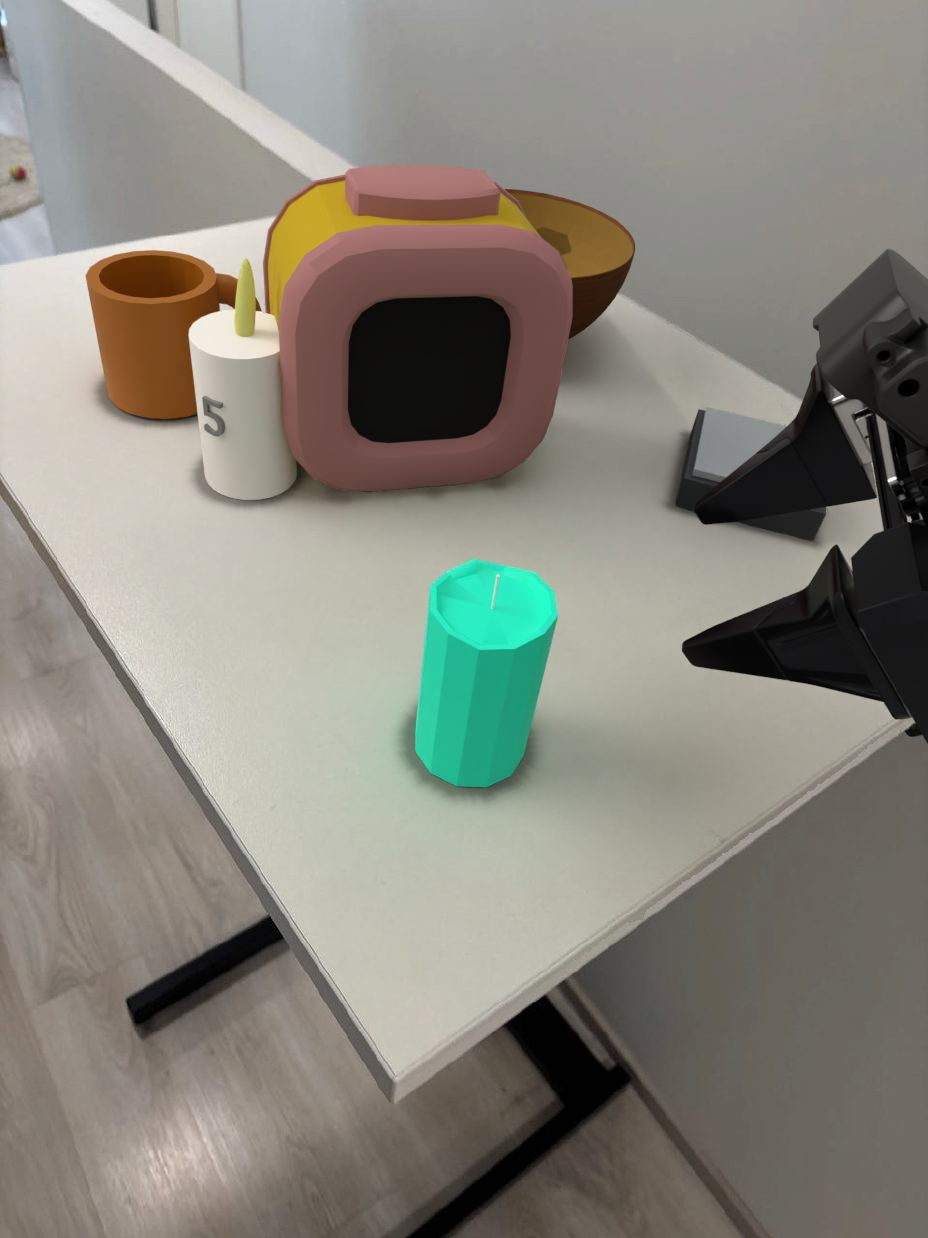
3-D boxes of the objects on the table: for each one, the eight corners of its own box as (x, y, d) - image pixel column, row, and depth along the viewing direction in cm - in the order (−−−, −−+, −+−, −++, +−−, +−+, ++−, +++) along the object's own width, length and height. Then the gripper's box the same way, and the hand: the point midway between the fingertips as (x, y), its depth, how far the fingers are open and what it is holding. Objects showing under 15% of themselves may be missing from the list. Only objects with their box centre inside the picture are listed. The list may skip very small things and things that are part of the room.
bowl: (499, 417, 72) (518, 296, 65) (372, 322, 81) (376, 207, 74) (649, 363, 81) (680, 251, 74) (519, 283, 90) (535, 176, 83)
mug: (272, 418, 69) (267, 304, 63) (104, 423, 66) (80, 305, 60) (264, 357, 75) (258, 248, 69) (109, 360, 72) (89, 247, 66)
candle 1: (183, 479, 62) (153, 264, 52) (243, 436, 67) (227, 230, 56) (258, 513, 61) (243, 298, 50) (314, 467, 65) (312, 259, 55)
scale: (815, 466, 72) (830, 432, 70) (813, 541, 65) (830, 506, 63) (689, 435, 73) (700, 401, 71) (674, 505, 66) (686, 470, 64)
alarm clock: (288, 509, 61) (277, 216, 48) (268, 419, 69) (253, 143, 55) (546, 487, 66) (601, 214, 53) (501, 405, 74) (540, 147, 60)
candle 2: (547, 744, 49) (591, 580, 41) (472, 809, 46) (504, 644, 38) (466, 682, 52) (492, 516, 44) (390, 738, 49) (402, 570, 40)
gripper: (996, 113, 33) (619, 324, 41) (1156, 350, 20) (553, 588, 28) (1082, 362, 38) (730, 504, 46) (1257, 684, 25) (719, 801, 33)
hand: (692, 578), depth 38 cm, fingers open, 9 cm apart
